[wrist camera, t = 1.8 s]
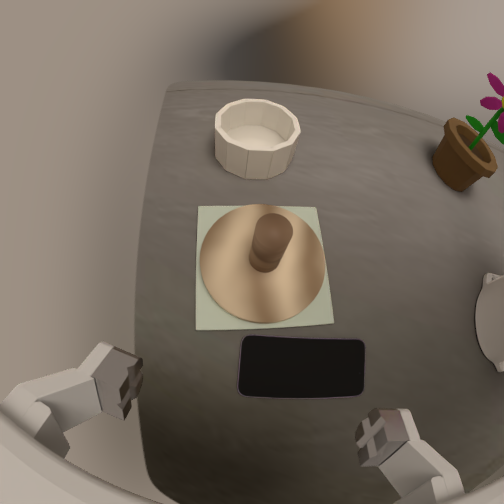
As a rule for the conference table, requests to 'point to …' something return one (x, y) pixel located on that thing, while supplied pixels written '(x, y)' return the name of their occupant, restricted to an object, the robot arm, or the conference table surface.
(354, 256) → the conference table surface
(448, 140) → the flowerpot
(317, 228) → the mat
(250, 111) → the bowl
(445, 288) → the conference table surface
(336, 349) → the smartphone
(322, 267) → the lid
